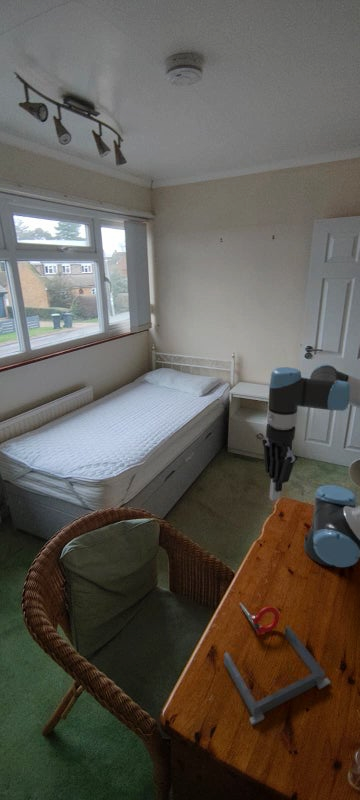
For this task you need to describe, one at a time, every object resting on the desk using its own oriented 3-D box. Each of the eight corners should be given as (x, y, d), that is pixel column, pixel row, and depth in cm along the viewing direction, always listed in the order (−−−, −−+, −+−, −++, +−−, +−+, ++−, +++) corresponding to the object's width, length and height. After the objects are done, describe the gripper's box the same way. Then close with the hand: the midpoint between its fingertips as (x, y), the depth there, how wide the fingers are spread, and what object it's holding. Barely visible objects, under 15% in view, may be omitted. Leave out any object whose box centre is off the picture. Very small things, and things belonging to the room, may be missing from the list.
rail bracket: (290, 632, 99) (291, 624, 98) (329, 684, 87) (331, 675, 86) (220, 664, 91) (220, 655, 90) (252, 725, 79) (252, 716, 78)
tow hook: (282, 624, 100) (259, 639, 98) (263, 601, 109) (241, 614, 108) (276, 603, 98) (252, 617, 97) (256, 582, 108) (234, 594, 106)
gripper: (255, 418, 107) (251, 489, 115) (285, 436, 95) (277, 514, 103) (277, 414, 109) (271, 484, 117) (308, 431, 98) (299, 507, 106)
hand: (274, 498), depth 110 cm, fingers closed
